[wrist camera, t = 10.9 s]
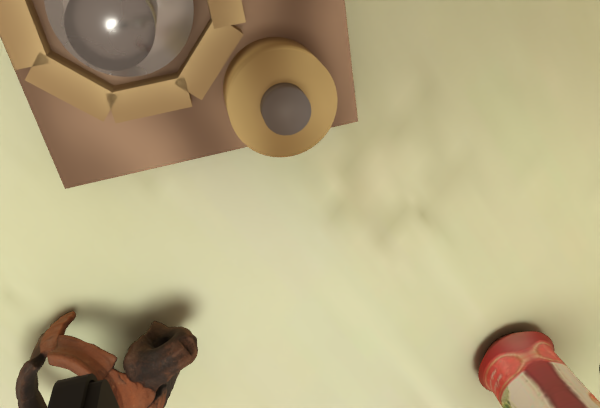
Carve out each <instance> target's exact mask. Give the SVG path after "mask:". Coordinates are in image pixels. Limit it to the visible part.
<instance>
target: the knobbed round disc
mask: <svg viewBox="0 0 600 408" xmlns="http://www.w3.org/2000/svg"><path fill="white" fill-rule="evenodd" d="M44 4H45V10H46V14H47V17H48V20H49V22H50V25H51V27H52V29H53V31H54V33H55V34H56V36H57V38H58V39H59V41H60V42H61V43H62V45H63V46H64V47H65V48H66V49H67V50H68V51H69V52H70V53H71V54H72V55H73V56H74V57H75V58H77V59H78V60H79V61H80V62H82V63H84V64H85V65H87V66H88V67H90V68H92V69H94V70H96V71H99V72H102V73H105V74H109V75H113V76H120V77H135V76H142V75H146V74H149V73H152V72H155V71H157V70H159V69H161V68H162V67H164V66H166V65H167V64H168V63H170V62H171V61H172V60H173V59H174V58H175V57H176V56H177V55H178V54H179V53H180V51H181V50H182V48H183V47H184V45H185V43H186V42H187V40H188V37H189V35H190V32H191V28H192V24H193V15H194V6H193V0H44Z"/></svg>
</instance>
